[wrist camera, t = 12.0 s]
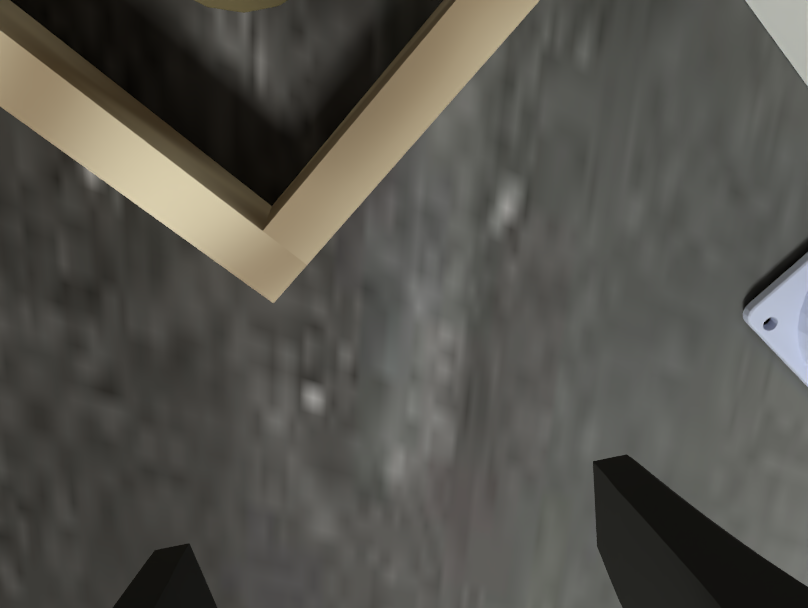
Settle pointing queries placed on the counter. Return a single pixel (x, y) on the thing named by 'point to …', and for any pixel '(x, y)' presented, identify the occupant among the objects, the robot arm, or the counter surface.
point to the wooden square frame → (209, 182)
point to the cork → (241, 4)
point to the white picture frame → (787, 28)
